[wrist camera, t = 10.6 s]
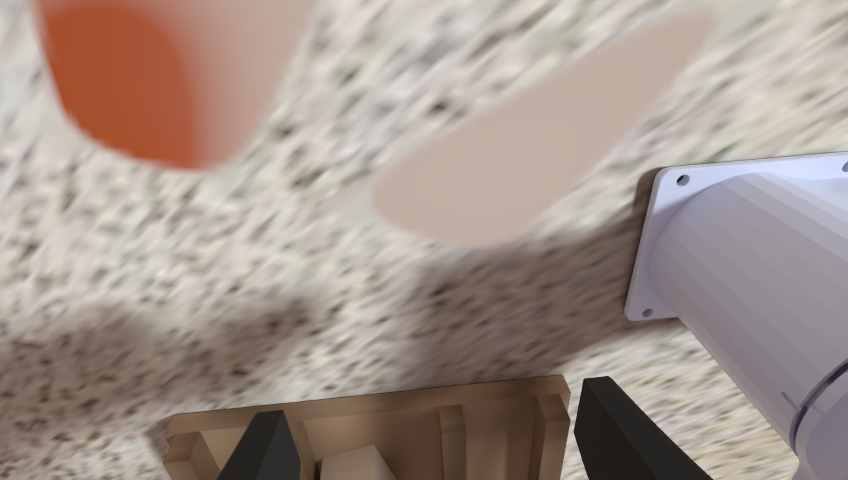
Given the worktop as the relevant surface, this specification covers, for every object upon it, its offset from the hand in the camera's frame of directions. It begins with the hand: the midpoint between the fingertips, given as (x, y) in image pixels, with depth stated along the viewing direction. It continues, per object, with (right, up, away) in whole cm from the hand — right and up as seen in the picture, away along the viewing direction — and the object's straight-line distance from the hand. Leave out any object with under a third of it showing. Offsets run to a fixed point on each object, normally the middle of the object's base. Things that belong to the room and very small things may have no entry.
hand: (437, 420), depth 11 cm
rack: (-3, -12, +18) cm, 21 cm away
